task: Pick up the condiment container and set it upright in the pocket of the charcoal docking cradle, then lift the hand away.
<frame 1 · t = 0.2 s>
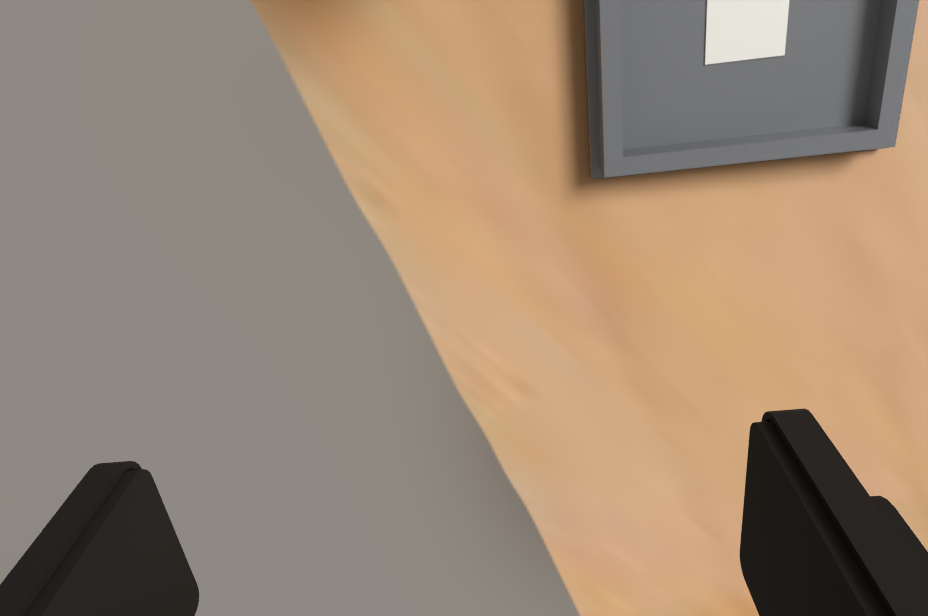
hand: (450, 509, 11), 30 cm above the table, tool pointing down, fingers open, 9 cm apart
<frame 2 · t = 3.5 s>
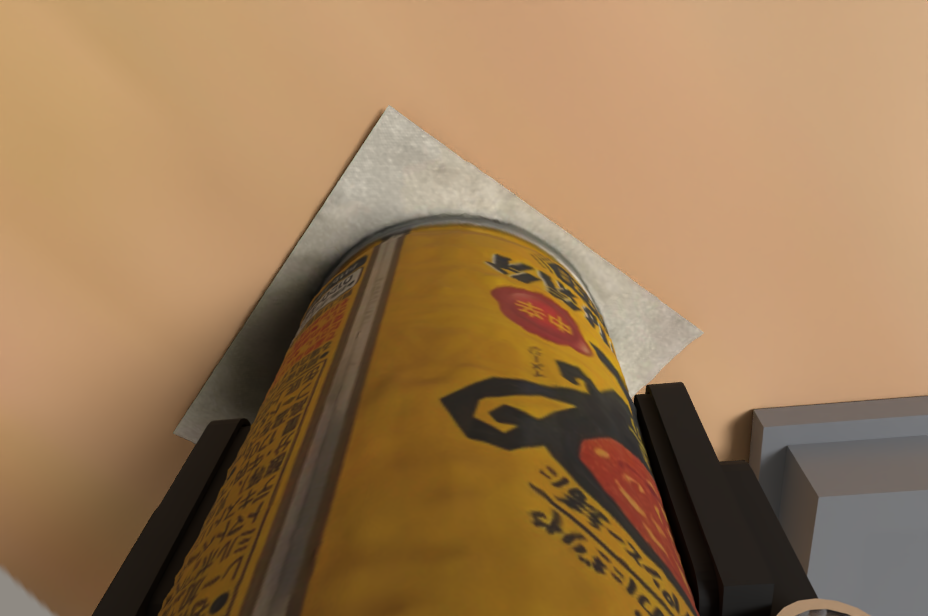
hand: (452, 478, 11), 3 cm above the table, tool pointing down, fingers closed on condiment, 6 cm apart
condiment: (427, 372, 14), on the table, touching gripper
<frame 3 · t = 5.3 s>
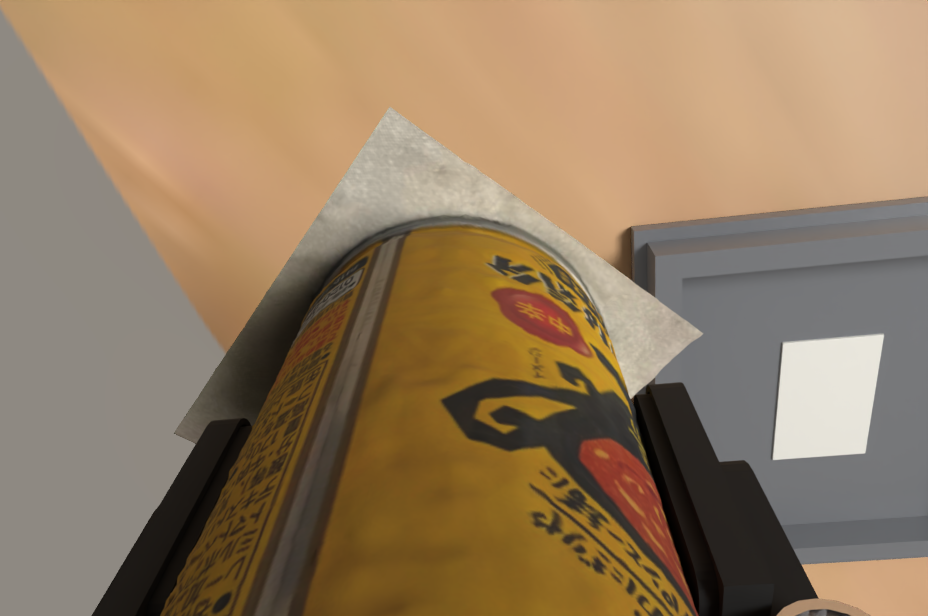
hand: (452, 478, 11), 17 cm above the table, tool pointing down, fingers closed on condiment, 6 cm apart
dock: (818, 391, 30), on the table
condiment: (427, 373, 14), point 14 cm above the table, touching gripper
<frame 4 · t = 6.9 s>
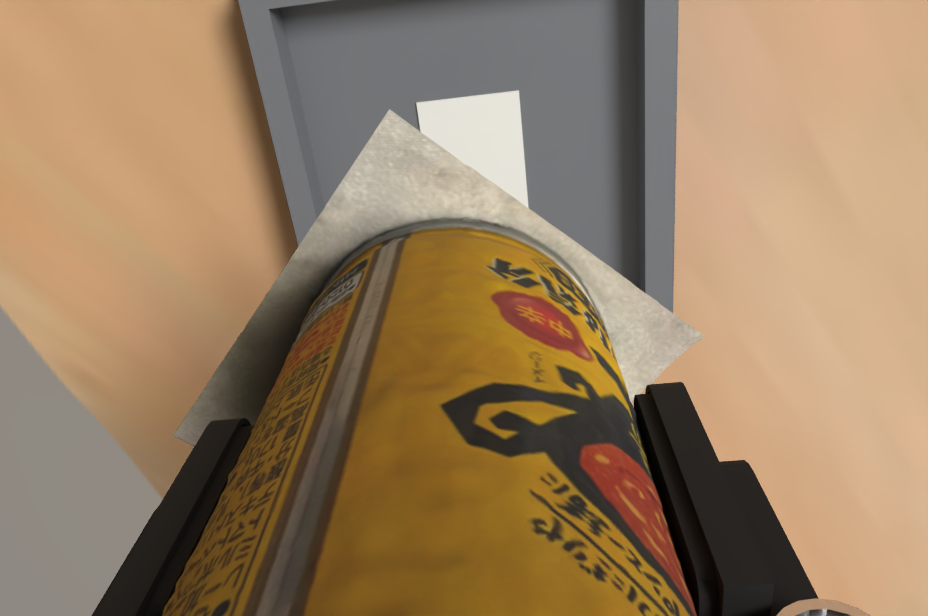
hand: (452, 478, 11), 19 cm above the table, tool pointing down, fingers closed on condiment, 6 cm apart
dock: (476, 167, 29), on the table
condiment: (427, 375, 14), point 16 cm above the table, touching gripper
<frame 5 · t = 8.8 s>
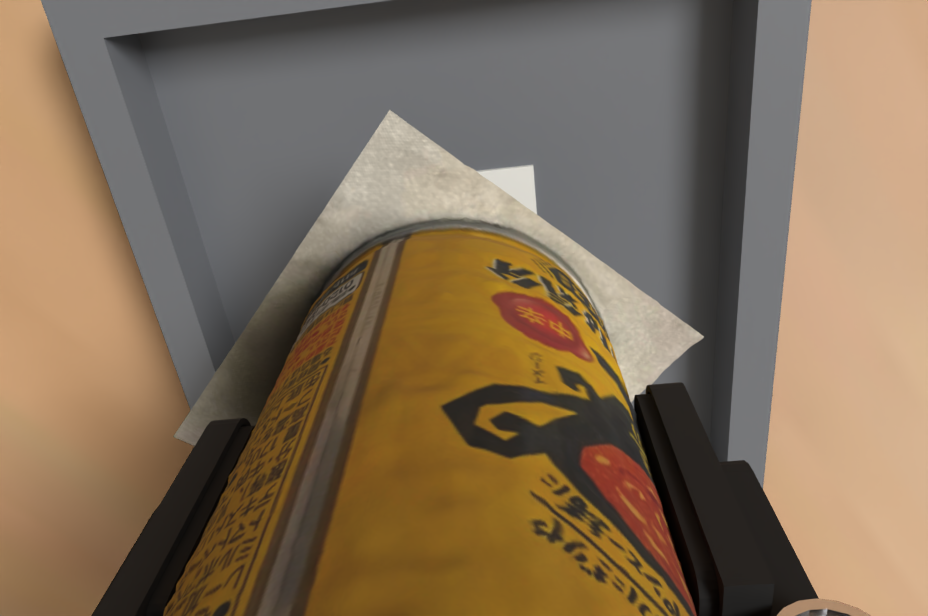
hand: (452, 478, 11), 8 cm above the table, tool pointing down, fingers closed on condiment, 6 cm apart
dock: (465, 276, 18), on the table
condiment: (427, 376, 14), point 5 cm above the table, touching gripper
when the fingers open (6 cm above the table, at t = 10.2 s): condiment drops 2 cm, resting on dock.
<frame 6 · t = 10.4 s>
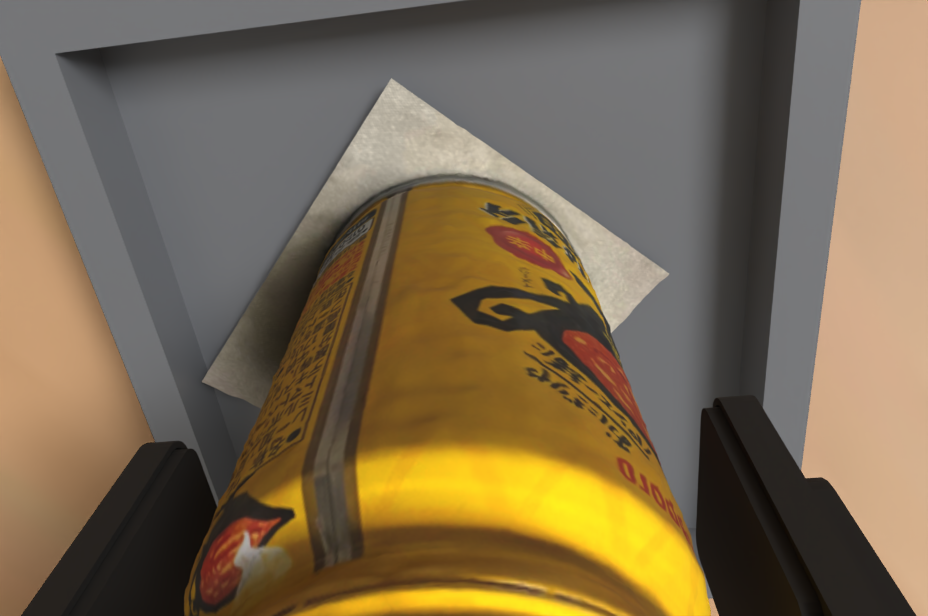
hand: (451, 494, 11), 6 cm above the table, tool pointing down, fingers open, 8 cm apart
dock: (464, 311, 17), on the table
condiment: (428, 319, 16), point 1 cm above the table, touching dock
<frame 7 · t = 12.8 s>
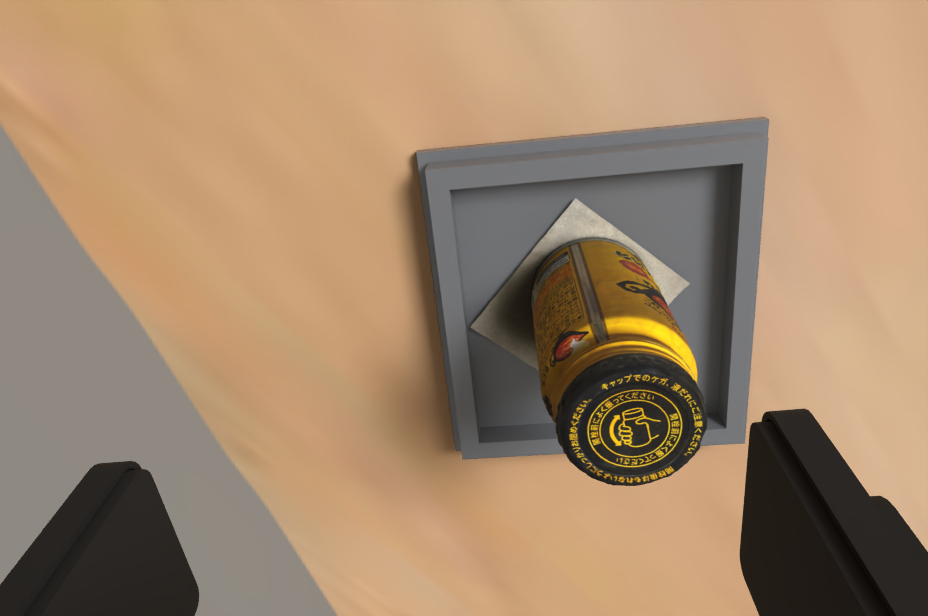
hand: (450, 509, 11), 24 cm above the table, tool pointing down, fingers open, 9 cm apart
dock: (592, 300, 36), on the table
condiment: (576, 301, 35), resting on dock
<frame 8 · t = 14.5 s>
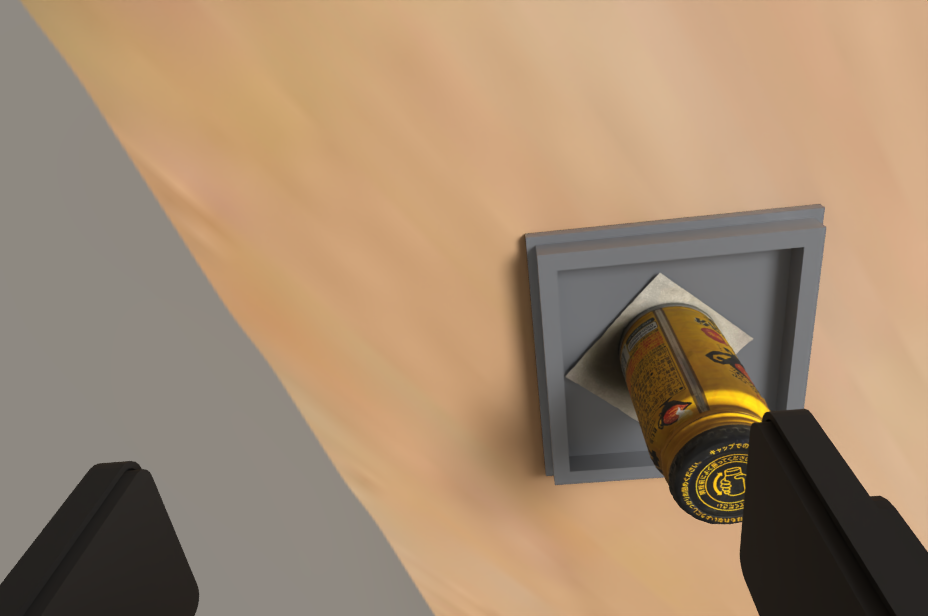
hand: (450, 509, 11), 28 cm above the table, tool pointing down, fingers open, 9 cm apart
dock: (668, 351, 42), on the table
condiment: (655, 353, 41), resting on dock
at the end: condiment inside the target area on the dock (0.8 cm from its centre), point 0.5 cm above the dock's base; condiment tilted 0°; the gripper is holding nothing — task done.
